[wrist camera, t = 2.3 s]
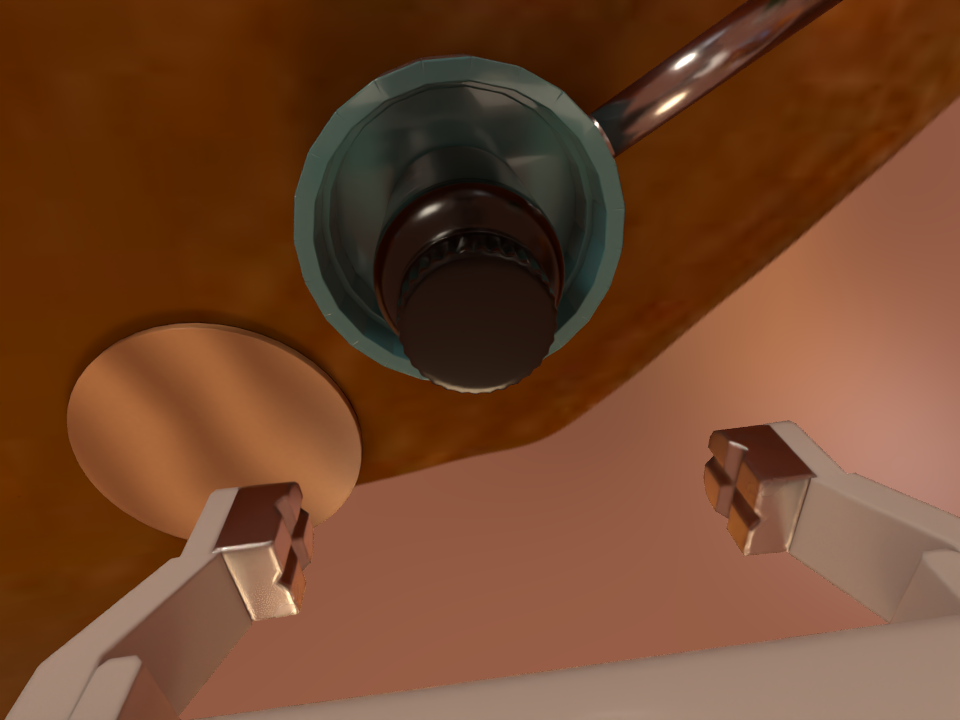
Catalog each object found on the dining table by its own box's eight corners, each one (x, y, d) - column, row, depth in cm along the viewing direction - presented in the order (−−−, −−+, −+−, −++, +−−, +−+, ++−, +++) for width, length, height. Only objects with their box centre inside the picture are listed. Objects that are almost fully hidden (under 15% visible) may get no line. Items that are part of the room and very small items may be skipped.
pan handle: (841, -74, 20) (880, -85, 18) (854, -20, 21) (892, -25, 19) (563, 126, 23) (574, 133, 21) (585, 167, 24) (598, 177, 22)
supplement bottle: (554, 184, 26) (643, 280, 15) (486, 303, 29) (523, 451, 18) (422, 112, 24) (423, 166, 13) (363, 248, 26) (326, 379, 16)
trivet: (214, 263, 26) (210, 267, 26) (416, 460, 34) (416, 466, 33) (7, 426, 30) (0, 432, 29) (231, 572, 37) (228, 579, 37)
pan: (497, -22, 22) (513, -35, 18) (640, 245, 28) (675, 277, 24) (249, 181, 25) (217, 207, 21) (429, 380, 31) (430, 429, 27)
